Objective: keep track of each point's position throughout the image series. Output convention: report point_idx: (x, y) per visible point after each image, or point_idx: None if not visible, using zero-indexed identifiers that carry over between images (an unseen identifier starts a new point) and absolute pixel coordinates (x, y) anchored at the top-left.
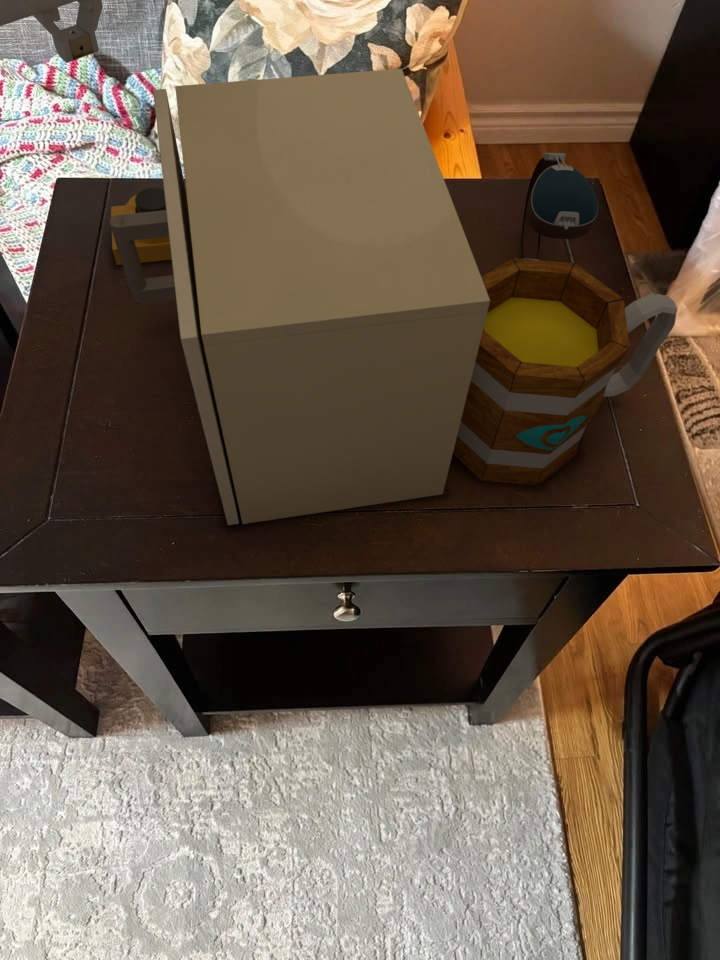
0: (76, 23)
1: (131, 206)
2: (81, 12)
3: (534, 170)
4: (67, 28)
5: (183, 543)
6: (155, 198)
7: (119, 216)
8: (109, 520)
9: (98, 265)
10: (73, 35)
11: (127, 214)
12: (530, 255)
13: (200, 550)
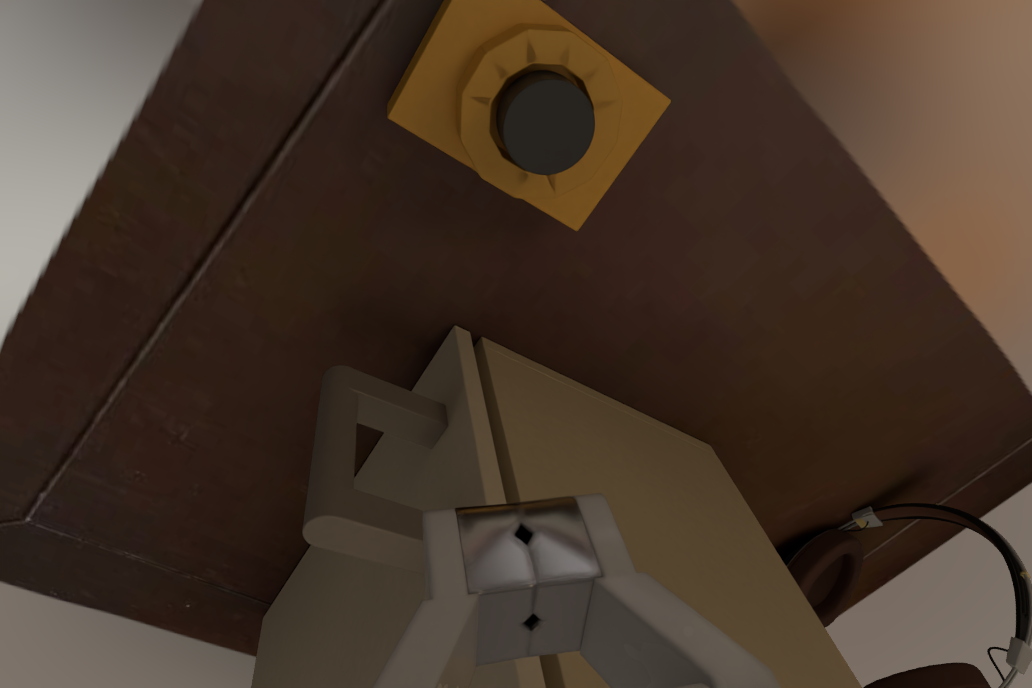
0: (595, 585)
1: (502, 68)
2: (645, 655)
3: (1011, 568)
4: (530, 592)
5: (200, 610)
6: (555, 134)
7: (336, 523)
8: (117, 554)
9: (348, 72)
10: (517, 637)
11: (357, 524)
12: (884, 516)
13: (215, 623)
